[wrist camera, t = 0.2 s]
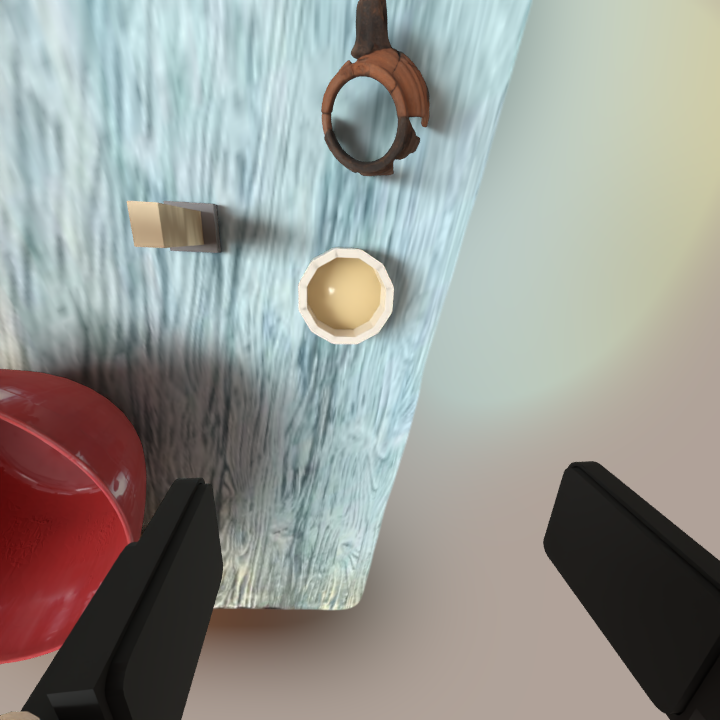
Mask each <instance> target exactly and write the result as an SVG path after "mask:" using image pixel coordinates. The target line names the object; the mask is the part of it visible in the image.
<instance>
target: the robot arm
mask: <svg viewBox="0 0 720 720" xmlns="http://www.w3.org/2000/svg"><path fill="white" fill-rule="evenodd" d="M543 544H544V549H545V552H546V554H547V556H548V557H549V559H550V560H551V561H552V563H553V564H554V566H555V567H556V568H557V570H558V571H559V573H560V574H561V575H562V577H563V578H564V579H565V581H566V582H567V584H568V585H569V587H570V588H571V589H572V591H573V592H574V594H575V595H576V596H577V598H578V599H579V600H580V602H581V603H582V605H583V606H584V608H585V609H586V610H587V612H588V613H589V614H590V616H591V617H592V619H593V620H594V621H595V623H596V624H597V626H598V627H599V628H600V630H601V631H602V632H603V634H604V635H605V637H606V638H607V640H608V641H609V642H610V644H611V645H612V647H613V648H614V649H615V651H616V652H617V653H618V655H619V656H620V658H621V659H622V661H623V662H624V663H625V665H626V666H627V668H628V669H629V670H630V672H631V673H632V675H633V676H634V677H635V679H636V680H637V681H638V683H639V684H640V686H641V687H642V688H643V690H644V691H645V693H646V694H647V696H648V697H649V698H650V700H651V701H652V702H653V703H654V705H655V706H656V707H657V708H658V709H659V710H660V711H662V712H663V713H666V715H667V716H668V718H669V719H670V720H720V561H719V560H718V559H717V558H715V557H714V556H713V555H712V554H711V553H709V552H708V551H707V550H706V549H704V548H703V547H702V546H701V545H699V544H698V543H697V542H696V541H694V540H693V539H692V538H691V537H689V536H688V535H687V534H686V533H685V532H683V531H682V530H681V529H680V528H678V527H677V526H676V525H674V524H673V523H672V522H671V521H670V520H668V519H667V518H666V517H665V516H663V515H662V514H661V513H660V512H659V511H657V510H656V509H655V508H654V507H652V506H651V505H650V504H649V503H648V502H646V501H645V500H644V499H643V498H641V497H640V496H639V495H637V494H636V493H635V492H634V491H633V490H631V489H630V488H629V487H628V486H626V485H625V484H624V483H623V482H621V481H620V480H619V479H618V478H617V477H615V476H614V475H613V474H612V473H610V472H609V471H608V470H607V469H605V468H604V467H603V466H602V465H600V464H599V463H597V462H593V461H589V462H574V463H571V464H570V465H569V467H568V468H567V469H566V470H565V471H564V474H563V477H562V480H561V484H560V487H559V490H558V494H557V497H556V500H555V504H554V508H553V511H552V514H551V517H550V521H549V524H548V527H547V530H546V534H545V537H544V541H543ZM222 573H223V561H222V553H221V546H220V539H219V532H218V525H217V517H216V510H215V503H214V496H213V489H212V485H211V484H205V482H204V480H203V478H187V479H177V480H175V481H174V483H173V484H172V486H171V487H170V489H169V491H168V492H167V494H166V496H165V498H164V499H163V501H162V503H161V504H160V506H159V508H158V509H157V511H156V513H155V514H154V516H153V518H152V519H151V521H150V523H149V524H148V526H147V528H146V529H145V531H144V533H143V534H142V536H141V538H140V539H139V541H138V542H131V543H129V544H128V545H127V546H126V547H125V548H124V549H123V551H122V552H121V553H120V555H119V556H118V558H117V559H116V561H115V563H114V564H113V566H112V567H111V569H110V570H109V572H108V574H107V575H106V577H105V578H104V580H103V582H102V583H101V585H100V586H99V588H98V589H97V591H96V593H95V594H94V596H93V597H92V599H91V601H90V602H89V604H88V605H87V607H86V608H85V610H84V612H83V613H82V615H81V616H80V618H79V620H78V621H77V623H76V624H75V626H74V627H73V629H72V631H71V632H70V634H69V635H68V637H67V638H66V640H65V642H64V643H63V645H62V646H61V648H60V650H59V651H58V653H57V654H56V656H55V657H54V659H53V661H52V662H51V664H50V666H49V667H48V669H47V670H46V672H45V674H44V675H43V676H42V678H41V680H40V681H39V683H38V685H37V686H36V688H35V689H34V691H33V692H32V694H31V695H30V697H29V699H28V701H27V702H26V704H25V705H24V706H23V708H22V710H21V711H20V712H9V713H6V714H3V715H0V720H181V718H182V715H183V711H184V708H185V705H186V701H187V697H188V694H189V691H190V687H191V684H192V680H193V676H194V673H195V669H196V666H197V663H198V659H199V656H200V652H201V649H202V645H203V642H204V638H205V635H206V632H207V628H208V625H209V621H210V617H211V614H212V611H213V607H214V604H215V600H216V597H217V593H218V590H219V586H220V583H221V579H222Z"/></svg>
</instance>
